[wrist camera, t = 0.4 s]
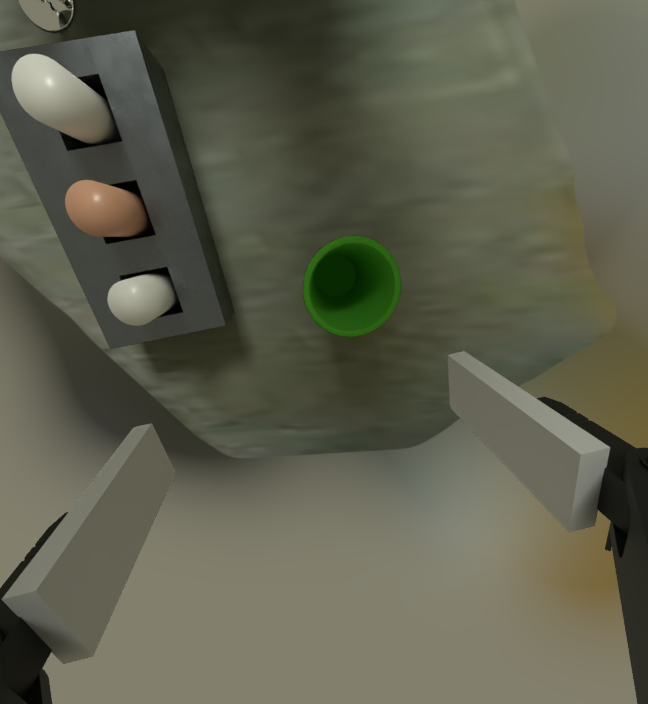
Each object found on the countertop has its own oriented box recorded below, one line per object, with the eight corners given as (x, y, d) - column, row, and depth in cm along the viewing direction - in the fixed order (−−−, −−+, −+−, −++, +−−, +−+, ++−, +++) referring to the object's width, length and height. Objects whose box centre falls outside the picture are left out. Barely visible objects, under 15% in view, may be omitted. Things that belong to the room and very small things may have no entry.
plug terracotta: (105, 196, 30) (55, 185, 23) (147, 188, 30) (109, 175, 23) (122, 240, 31) (79, 241, 25) (162, 232, 31) (130, 231, 25)
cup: (308, 319, 40) (317, 348, 29) (288, 246, 36) (290, 250, 26) (376, 301, 40) (408, 323, 30) (362, 227, 36) (393, 223, 26)
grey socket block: (34, 90, 29) (-27, 55, 23) (163, 69, 29) (134, 30, 24) (136, 332, 38) (110, 349, 32) (234, 312, 38) (225, 325, 33)
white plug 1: (68, 101, 27) (-1, 58, 20) (114, 94, 27) (60, 49, 21) (88, 154, 28) (30, 130, 22) (132, 146, 29) (88, 120, 22)
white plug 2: (136, 275, 32) (99, 284, 26) (174, 267, 33) (147, 275, 26) (151, 311, 34) (119, 329, 27) (187, 304, 34) (164, 320, 28)
